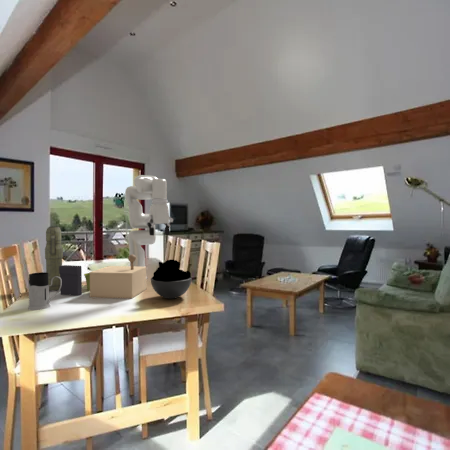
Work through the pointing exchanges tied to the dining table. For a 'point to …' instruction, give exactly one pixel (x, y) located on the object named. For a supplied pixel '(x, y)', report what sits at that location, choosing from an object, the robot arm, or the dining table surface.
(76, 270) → the dark grey box
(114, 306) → the dining table surface
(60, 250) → the thermos
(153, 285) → the coal bowl
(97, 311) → the dining table surface
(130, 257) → the flap
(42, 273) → the glass holder
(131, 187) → the robot arm
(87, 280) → the plant pot
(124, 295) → the carton
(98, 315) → the dining table surface
